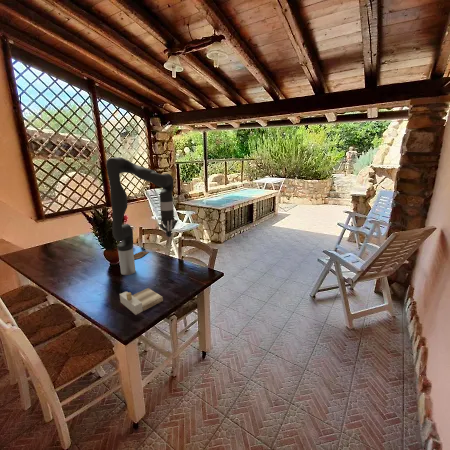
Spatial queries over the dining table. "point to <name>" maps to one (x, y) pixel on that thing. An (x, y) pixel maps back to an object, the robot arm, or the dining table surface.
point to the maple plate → (148, 298)
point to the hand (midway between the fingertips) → (169, 236)
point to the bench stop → (131, 302)
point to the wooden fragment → (139, 255)
